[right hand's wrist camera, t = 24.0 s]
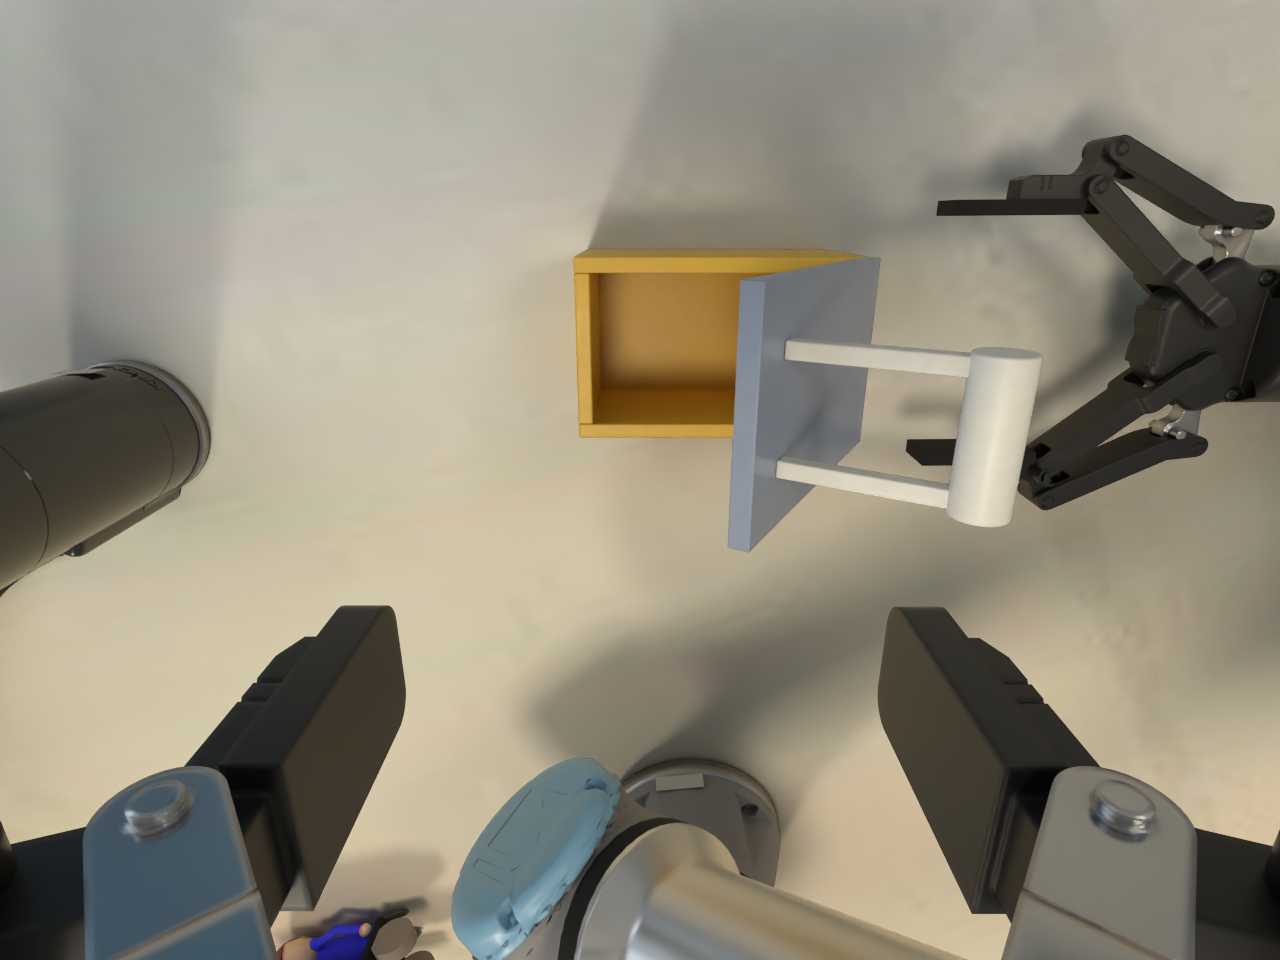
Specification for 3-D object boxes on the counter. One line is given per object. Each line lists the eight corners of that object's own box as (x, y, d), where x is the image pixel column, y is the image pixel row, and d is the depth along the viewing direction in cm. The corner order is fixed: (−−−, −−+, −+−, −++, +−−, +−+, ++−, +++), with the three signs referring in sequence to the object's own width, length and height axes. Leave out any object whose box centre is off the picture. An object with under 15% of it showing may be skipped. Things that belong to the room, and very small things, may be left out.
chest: (590, 397, 48) (579, 437, 39) (586, 249, 45) (573, 256, 36) (810, 397, 48) (849, 437, 39) (823, 249, 45) (869, 257, 36)
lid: (727, 547, 26) (991, 611, 22) (739, 279, 23) (1054, 293, 19) (843, 439, 39) (1025, 466, 35) (863, 257, 36) (1066, 262, 31)
